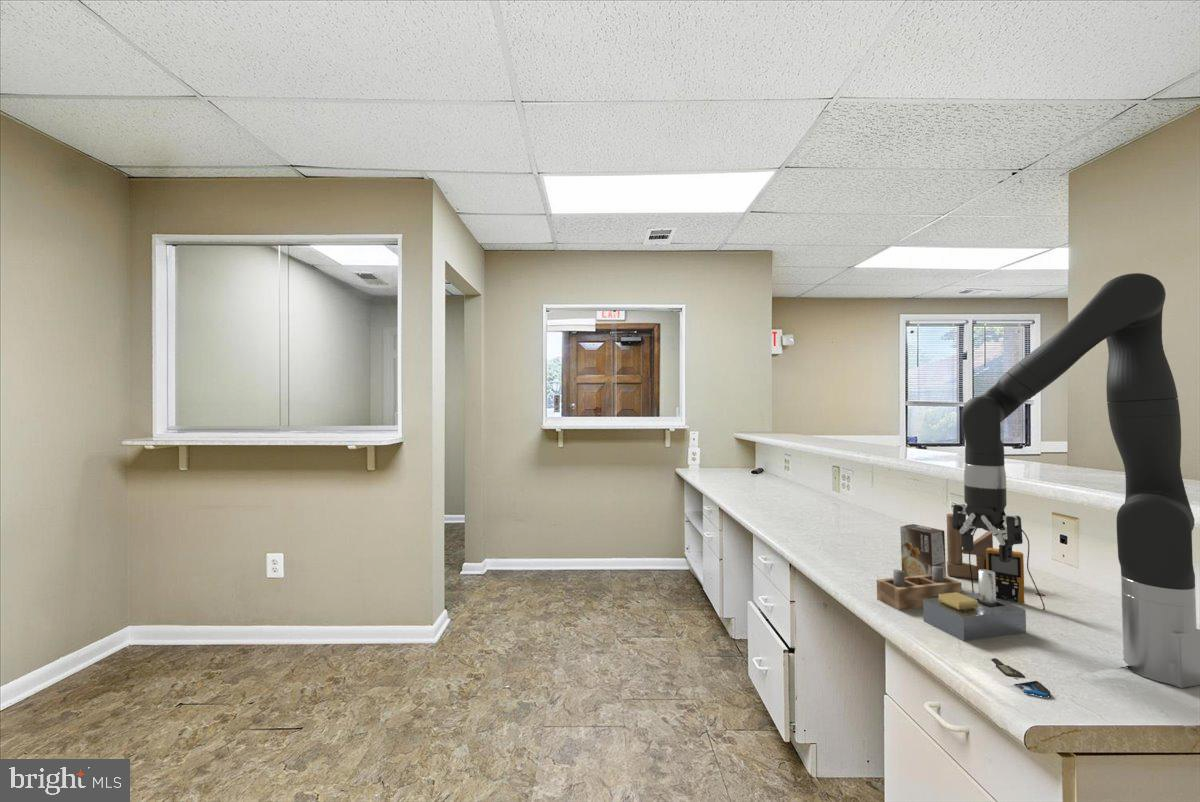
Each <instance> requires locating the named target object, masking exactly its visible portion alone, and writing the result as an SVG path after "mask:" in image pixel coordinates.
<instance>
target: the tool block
mask: <svg viewBox="0 0 1200 802" xmlns="http://www.w3.org/2000/svg"><path fill="white" fill-rule="evenodd" d="M964 595H965V596H968V597H970V598H973V599H975V600H978V608H974V610H966V611H957V610H955V609H953V608H950V607H948V606H946V605H943V603H942V602H940V601H939V598H931V599H923V609H922V611H923V622H924V623H926V624H928V625H930V626H931V627H935V628H936V629H938V630H940V631H941V632H944V633H946V634H948V635H950V636H952V637H954V638H956V639H959V640H960V641H962V642H970V641H977V640H985V639H990V638H993V639H994V638H998V637H999V638H1000V637H1006V636H1012V635H1013V636H1014V635H1020V634H1026V633H1027V616H1026V614H1027V612H1026V611H1027V610H1026V609H1025V608H1023V607H1019V606H1017V605H1015V604H1012V603H1010V602H1006V601H1004V600H1003V599H999V598H996V607H990V608H989V607H986V606H984V605H981V604H979V592H974V593H967V594H964Z"/></svg>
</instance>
